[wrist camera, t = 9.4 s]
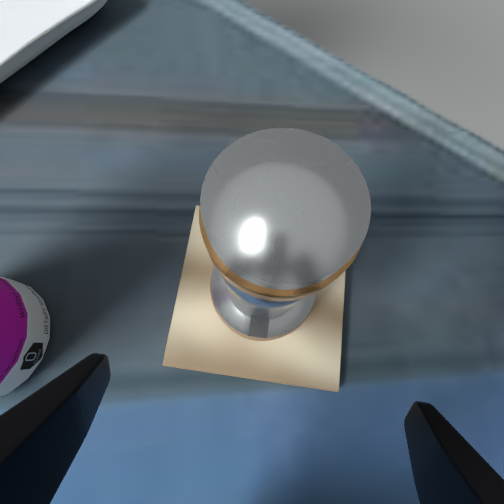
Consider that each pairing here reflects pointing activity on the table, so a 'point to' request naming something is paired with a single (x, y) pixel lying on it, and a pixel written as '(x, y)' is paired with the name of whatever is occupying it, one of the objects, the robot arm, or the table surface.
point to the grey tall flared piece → (280, 226)
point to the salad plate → (37, 28)
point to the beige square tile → (249, 348)
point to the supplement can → (20, 333)
